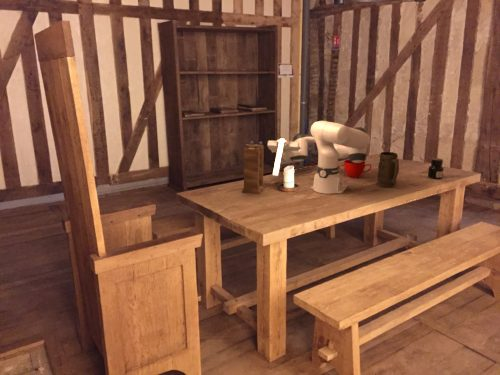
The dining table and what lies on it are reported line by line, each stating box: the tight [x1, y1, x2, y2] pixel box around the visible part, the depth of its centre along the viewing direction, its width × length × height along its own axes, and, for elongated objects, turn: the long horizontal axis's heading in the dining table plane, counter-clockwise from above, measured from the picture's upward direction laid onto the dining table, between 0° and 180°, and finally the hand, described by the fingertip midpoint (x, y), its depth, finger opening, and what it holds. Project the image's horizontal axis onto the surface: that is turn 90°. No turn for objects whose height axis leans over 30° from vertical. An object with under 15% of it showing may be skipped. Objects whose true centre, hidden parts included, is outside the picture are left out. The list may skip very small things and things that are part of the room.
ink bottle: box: [427, 157, 444, 180], centre depth 280 cm, size 10×9×12 cm
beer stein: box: [376, 151, 400, 189], centre depth 258 cm, size 15×11×20 cm
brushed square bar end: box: [272, 138, 286, 179], centre depth 267 cm, size 26×3×3 cm
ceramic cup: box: [343, 159, 372, 179], centre depth 280 cm, size 13×17×10 cm
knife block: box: [241, 140, 266, 195], centre depth 247 cm, size 13×10×27 cm
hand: (281, 141), depth 270 cm, fingers closed on brushed square bar end, 3 cm apart
